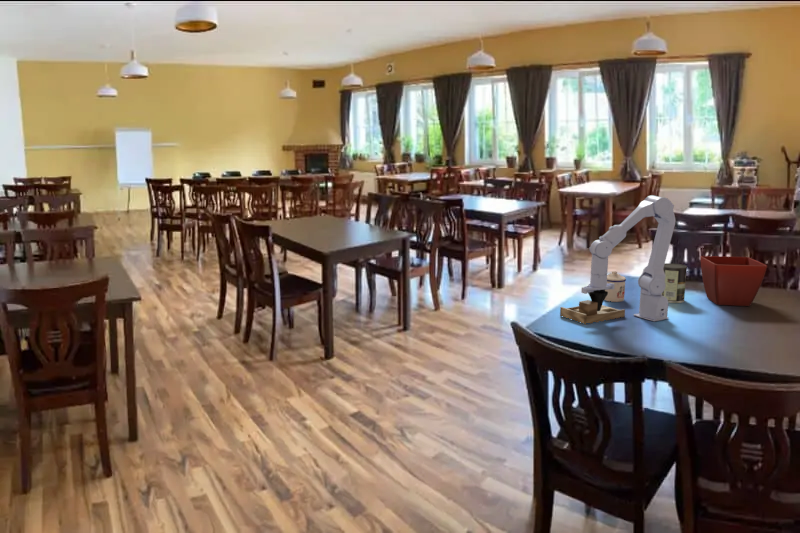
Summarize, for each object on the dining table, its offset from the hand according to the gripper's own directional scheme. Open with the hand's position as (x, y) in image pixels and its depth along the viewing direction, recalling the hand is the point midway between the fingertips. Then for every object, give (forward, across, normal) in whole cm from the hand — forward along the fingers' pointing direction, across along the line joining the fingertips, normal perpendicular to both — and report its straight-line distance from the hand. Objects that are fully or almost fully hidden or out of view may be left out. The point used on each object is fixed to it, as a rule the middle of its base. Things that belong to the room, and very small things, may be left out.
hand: (596, 310), depth 253 cm
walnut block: (+1, +4, -1) cm, 4 cm away
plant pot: (+3, -63, +9) cm, 64 cm away
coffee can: (+3, -46, -5) cm, 47 cm away
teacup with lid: (+3, -28, -18) cm, 33 cm away
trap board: (+3, -1, -3) cm, 4 cm away
